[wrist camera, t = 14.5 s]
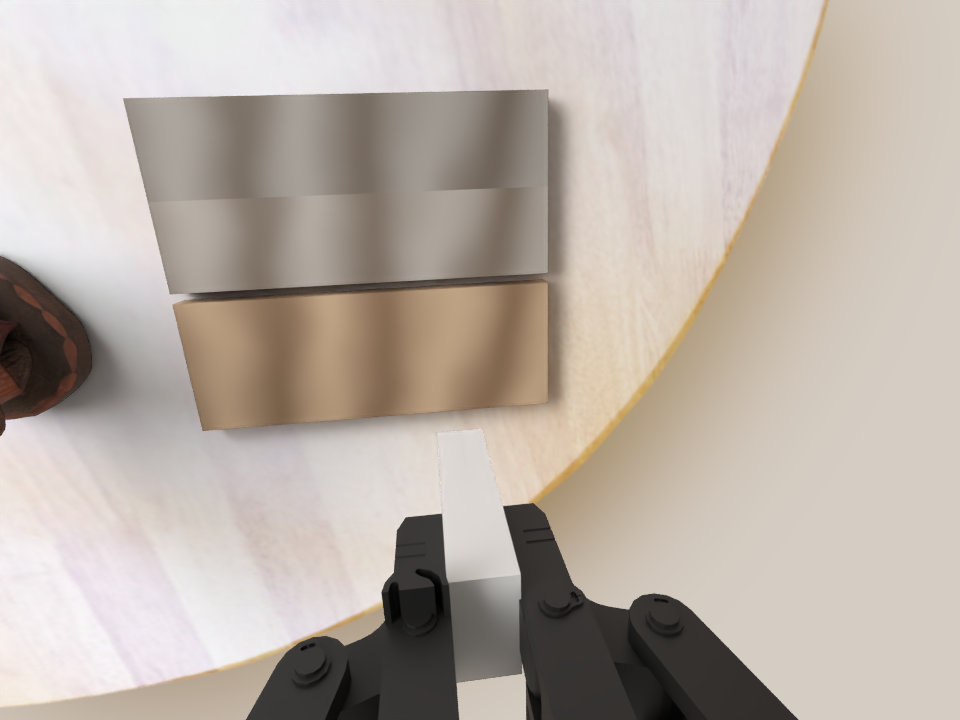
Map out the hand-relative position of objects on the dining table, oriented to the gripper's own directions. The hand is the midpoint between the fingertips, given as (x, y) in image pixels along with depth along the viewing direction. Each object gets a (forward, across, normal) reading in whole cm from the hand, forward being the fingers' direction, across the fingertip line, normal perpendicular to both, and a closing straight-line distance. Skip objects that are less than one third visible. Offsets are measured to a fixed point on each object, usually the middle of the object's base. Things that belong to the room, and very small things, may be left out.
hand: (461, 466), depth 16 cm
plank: (+16, -4, -1) cm, 17 cm away
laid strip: (+16, -4, +9) cm, 19 cm away
